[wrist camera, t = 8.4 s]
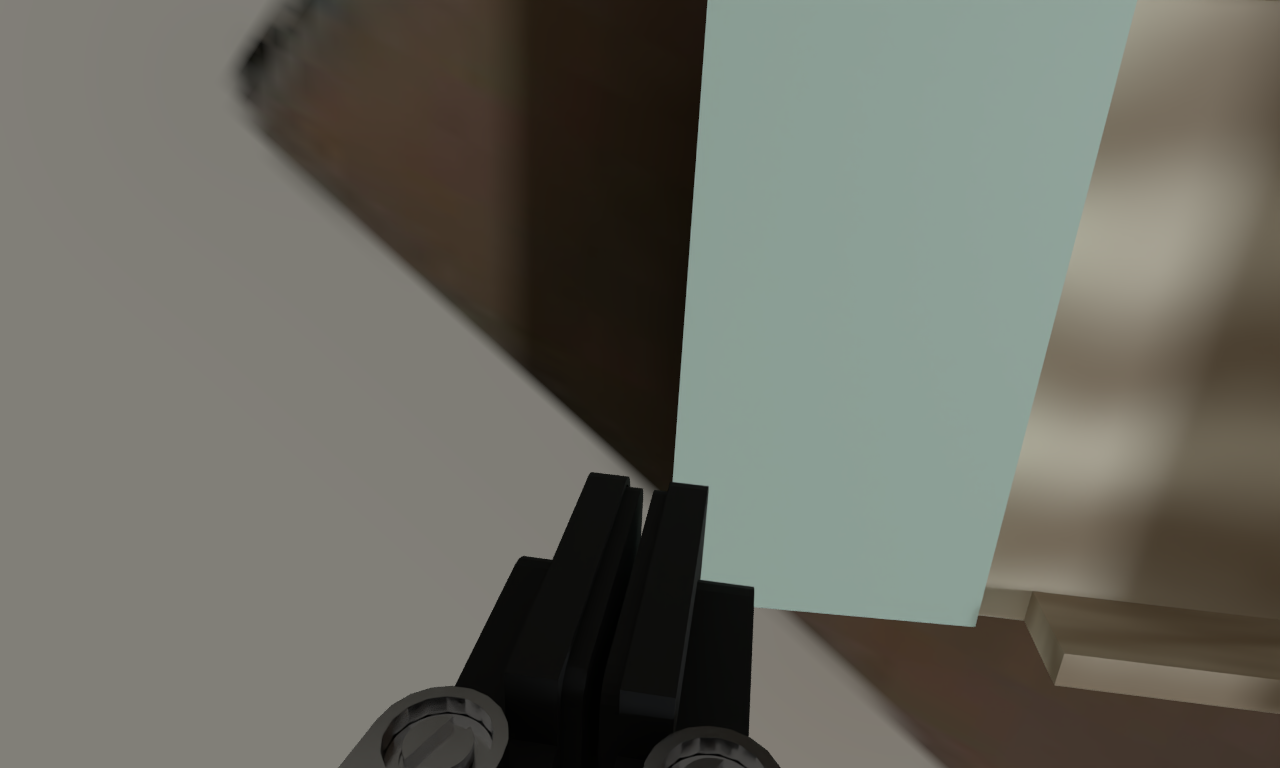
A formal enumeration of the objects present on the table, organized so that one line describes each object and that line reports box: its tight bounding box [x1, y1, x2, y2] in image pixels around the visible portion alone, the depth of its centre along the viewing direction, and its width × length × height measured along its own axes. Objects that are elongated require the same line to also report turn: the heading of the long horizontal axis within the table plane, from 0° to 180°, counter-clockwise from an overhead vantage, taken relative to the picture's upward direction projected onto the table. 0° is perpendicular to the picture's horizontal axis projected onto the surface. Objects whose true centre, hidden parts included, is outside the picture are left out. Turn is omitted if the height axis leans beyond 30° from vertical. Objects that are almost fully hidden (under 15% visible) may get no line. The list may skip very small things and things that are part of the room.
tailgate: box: [673, 0, 1137, 627], centre depth 23 cm, size 19×2×10 cm
